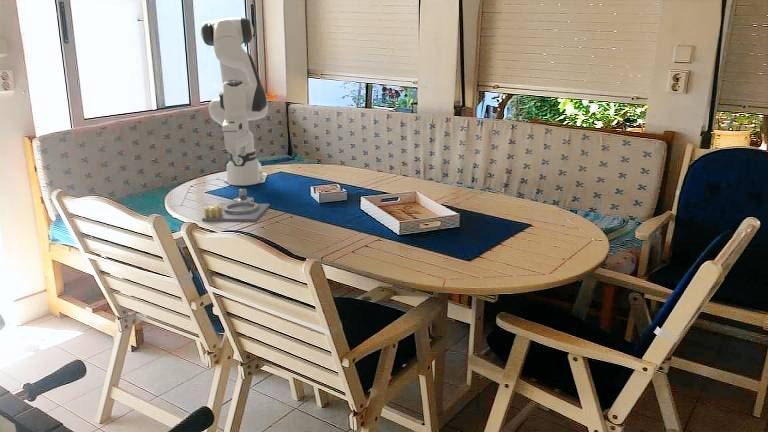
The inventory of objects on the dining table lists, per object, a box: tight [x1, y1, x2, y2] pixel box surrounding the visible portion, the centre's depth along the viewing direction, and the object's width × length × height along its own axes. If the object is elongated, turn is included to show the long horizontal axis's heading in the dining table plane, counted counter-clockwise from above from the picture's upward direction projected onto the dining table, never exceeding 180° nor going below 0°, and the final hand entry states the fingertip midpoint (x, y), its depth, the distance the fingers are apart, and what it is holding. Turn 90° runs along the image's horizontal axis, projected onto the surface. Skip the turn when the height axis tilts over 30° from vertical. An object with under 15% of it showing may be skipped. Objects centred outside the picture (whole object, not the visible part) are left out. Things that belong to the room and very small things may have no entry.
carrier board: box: [201, 201, 271, 223], centre depth 241 cm, size 20×20×4 cm
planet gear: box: [232, 188, 255, 203], centre depth 255 cm, size 8×8×6 cm
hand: (239, 158), depth 249 cm, fingers open, 8 cm apart
